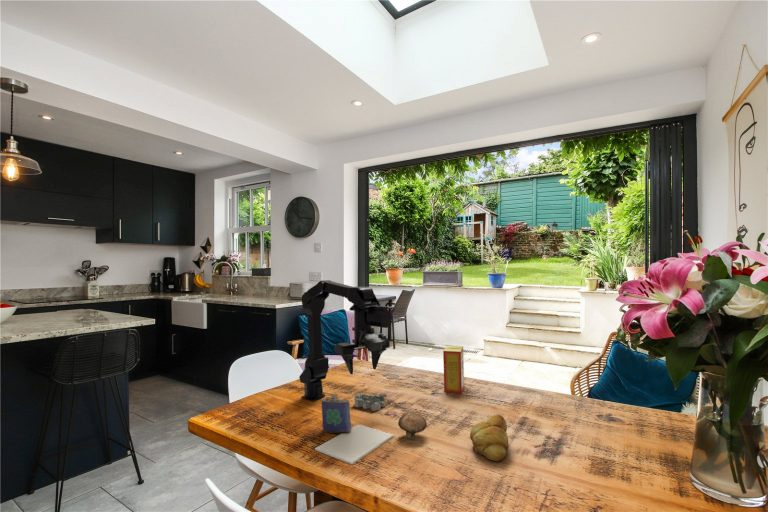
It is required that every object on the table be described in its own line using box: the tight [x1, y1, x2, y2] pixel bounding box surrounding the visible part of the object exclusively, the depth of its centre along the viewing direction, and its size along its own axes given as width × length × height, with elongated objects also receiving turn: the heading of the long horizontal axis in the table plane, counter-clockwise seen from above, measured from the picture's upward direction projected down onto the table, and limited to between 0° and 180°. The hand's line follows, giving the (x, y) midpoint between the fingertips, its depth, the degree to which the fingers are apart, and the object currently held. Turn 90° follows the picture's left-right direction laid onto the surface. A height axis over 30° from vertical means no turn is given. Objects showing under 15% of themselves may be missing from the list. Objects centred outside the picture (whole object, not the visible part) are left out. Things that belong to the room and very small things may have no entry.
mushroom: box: [397, 412, 428, 440], centre depth 107 cm, size 8×8×6 cm
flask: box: [321, 393, 352, 434], centre depth 111 cm, size 9×3×11 cm, turn 68°
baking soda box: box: [442, 345, 465, 394], centre depth 147 cm, size 10×6×16 cm
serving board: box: [314, 424, 395, 465], centre depth 103 cm, size 13×18×1 cm
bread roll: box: [469, 414, 510, 462], centre depth 98 cm, size 13×10×8 cm
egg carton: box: [352, 393, 387, 412], centre depth 131 cm, size 11×8×4 cm
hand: (363, 371), depth 125 cm, fingers open, 9 cm apart
